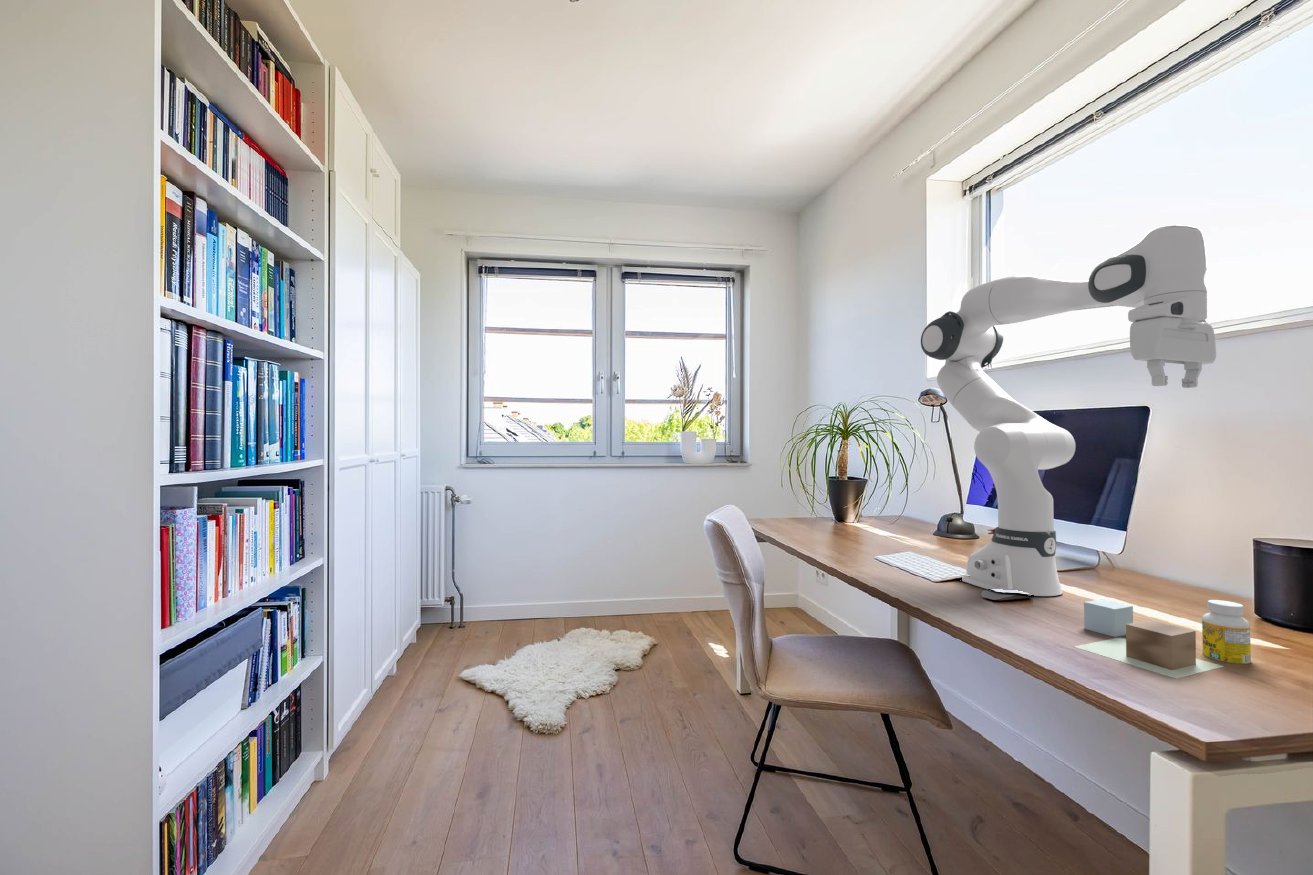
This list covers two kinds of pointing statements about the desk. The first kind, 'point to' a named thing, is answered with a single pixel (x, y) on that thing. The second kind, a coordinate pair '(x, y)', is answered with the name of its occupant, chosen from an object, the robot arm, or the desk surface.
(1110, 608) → the slate brick
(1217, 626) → the supplement bottle
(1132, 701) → the desk surface
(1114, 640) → the plate
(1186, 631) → the walnut block
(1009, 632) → the desk surface
